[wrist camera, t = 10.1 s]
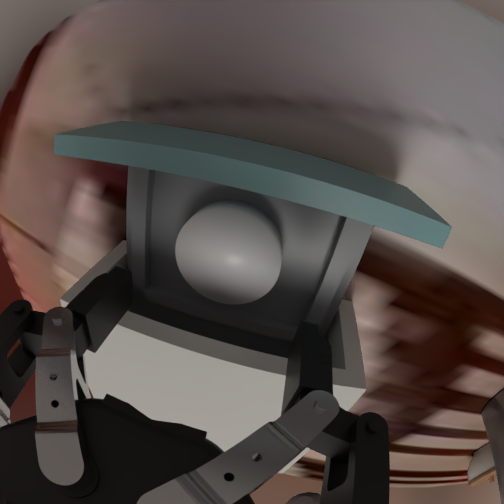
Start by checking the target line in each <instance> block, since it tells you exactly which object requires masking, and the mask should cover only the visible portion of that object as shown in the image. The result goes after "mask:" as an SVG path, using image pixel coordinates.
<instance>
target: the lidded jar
mask: <svg viewBox="0 0 504 504" xmlns="http://www.w3.org/2000/svg"><path fill="white" fill-rule="evenodd" d="M473 455H474V456H473V457H472V459H471V461H470V463H469V467H468V481H469V483H468V485H469V487H472V486H476V485H479V484H481V483H483V482H486V481H488V480H490V483H492V482H494V477H495V476H497V474H496V469H495V464H494V459H493V455H492V451H491V447H490V443H489V444H487V445H485V446H483V447H482V448H480V449H479V450H477V451H476V452H475V453H474V454H473Z"/></svg>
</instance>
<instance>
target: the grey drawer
mask: <svg viewBox="0 0 504 504" xmlns="http://www.w3.org/2000/svg"><path fill="white" fill-rule="evenodd" d="M54 155H61V156H69V157H76V158H83V159H90V160H97V161H104V162H110V163H116V164H122V165H128V166H129V167H128V183H127V212H126V246H127V269H128V270H130V271H131V272H132V284H133V301H132V304H131V306H130V312H132V313H135V314H137V315H140V316H143V317H146V318H148V319H151V320H154V321H157V322H160V323H163V324H166V325H169V326H172V327H175V328H178V329H181V330H184V331H187V332H191V333H194V334H197V335H200V336H204V337H207V338H210V339H214V340H217V341H221V342H224V343H228V344H232V345H235V346H239V347H243V348H247V349H250V350H254V351H258V352H262V353H266V354H271V355H275V356H279V357H284V358H288V354H289V350H290V346H291V343H292V341H293V339H294V336H295V334H296V332H297V329H298V327H299V325H300V322H301V321H302V320H304V321H308V322H312V323H317V324H318V325H319V336H322V337H324V336H325V334H326V332H327V330H328V328H329V326H330V324H331V322H332V320H333V318H334V316H335V314H336V312H337V310H338V308H339V306H340V303H341V301H342V299H343V297H344V295H345V293H346V291H347V289H348V286H349V284H350V282H351V280H352V277H353V275H354V273H355V271H356V268H357V266H358V264H359V262H360V259H361V257H362V254H363V252H364V250H365V247H366V245H367V242H368V240H369V237H370V235H371V232H372V230H373V227H374V226H377V227H380V228H383V229H386V230H389V231H392V232H395V233H398V234H401V235H404V236H407V237H410V238H413V239H416V240H419V241H422V242H425V243H427V244H430V245H433V246H436V247H439V248H441V249H442V248H443V246H444V244H445V242H446V240H447V238H448V235H449V233H450V231H451V229H452V227H451V226H450V225H449V224H448V223H447V222H446V221H445V220H444V219H443V218H442V217H441V216H440V215H438V214H437V213H436V212H435V211H434V210H433V209H432V208H431V207H430V206H428V205H427V204H426V203H425V202H424V201H423V200H421V199H420V198H419V197H418V196H417V195H416V194H414V193H413V192H412V191H411V190H409V189H408V188H407V187H405V186H403V185H400V184H398V183H395V182H392V181H389V180H387V179H384V178H381V177H378V176H376V175H373V174H370V173H367V172H364V171H361V170H358V169H355V168H352V167H349V166H346V165H342V164H339V163H336V162H333V161H329V160H326V159H323V158H319V157H316V156H312V155H308V154H305V153H301V152H297V151H293V150H290V149H286V148H282V147H278V146H273V145H269V144H265V143H261V142H256V141H252V140H247V139H242V138H237V137H232V136H227V135H222V134H216V133H211V132H205V131H199V130H193V129H186V128H180V127H172V126H165V125H157V124H148V123H139V122H128V121H118V122H112V123H106V124H100V125H95V126H90V127H85V128H80V129H75V130H71V131H66V132H62V133H58V134H55V138H54ZM227 199H229V200H239V201H243V202H246V203H249V204H251V205H254V206H256V207H257V208H259V209H260V210H262V211H263V212H264V213H266V214H267V215H268V216H269V217H270V218H271V220H272V221H273V222H274V224H275V225H276V227H277V229H278V230H279V233H280V236H281V239H282V245H283V254H282V262H281V269H280V273H279V276H278V279H277V281H276V283H275V285H274V286H273V287H272V289H271V290H270V291H269V292H268V293H267V294H265V295H264V296H263V297H261V298H259V299H257V300H255V301H252V302H250V303H245V304H238V305H236V304H224V303H219V302H216V301H213V300H211V299H208V298H206V297H205V296H203V295H201V294H200V293H198V292H197V291H196V290H194V289H193V288H192V287H191V286H190V285H189V284H188V282H187V281H186V280H185V279H184V277H183V276H182V274H181V272H180V270H179V267H178V265H177V261H176V255H175V246H176V240H177V237H178V234H179V232H180V230H181V229H182V227H183V226H184V225H185V224H186V222H187V221H188V220H189V219H190V218H191V217H192V216H193V215H194V214H195V213H196V212H197V211H198V210H199V209H201V208H202V207H203V206H205V205H207V204H209V203H212V202H214V201H219V200H227Z"/></svg>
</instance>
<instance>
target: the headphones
mask: <svg viewBox="0 0 504 504" xmlns="http://www.w3.org/2000/svg"><path fill="white" fill-rule="evenodd" d="M320 498H321V495H320V494H318V493H310V492H307V493H302V494H298V495H296V496H294V497H292V498H291V499H290V500H289V501H288V502H287V503H286V504H320Z"/></svg>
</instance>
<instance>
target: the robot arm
mask: <svg viewBox="0 0 504 504" xmlns="http://www.w3.org/2000/svg"><path fill="white" fill-rule="evenodd" d="M132 301H133V284H132V272H131V271H130V270H128V269H125V268H122V267H119V266H115V267H114V268H113V269H112V270H111V271H110V272H109V273H108V274H107V273H103V274H101V275H99V276H97V277H95V278H94V279H93V280H92V281H91V282H90V283H89V285H87V286H86V287H85V288H84V290H82V291H81V292H80V293H79V294H78V295H77V296H76V297H75V298H74V299H73V300H72V301H71V302H70V303H69V304H68V305H67V306H66V307H55V308H52V309H50V310H49V311H48V312H47V313H43V312H38V311H33V309H32V306H31V304H30V302H29V301H27V300H17V301H14V302H13V303H11V304H10V305H9V306H8V307H7V308H6V309H5V310H4V311H3V312H2V313H1V315H0V504H255V503H254V502H253V500H252V498H251V497H250V494H251V493H253V492H254V491H255V490H257V489H258V488H259V487H261V486H262V485H263V484H264V483H266V482H267V481H268V480H269V479H271V478H272V477H273V476H274V475H275V474H277V473H278V472H279V471H280V470H282V469H283V468H284V467H285V466H286V465H287V464H289V463H290V462H291V461H292V460H293V459H294V458H295V457H297V456H298V455H299V454H300V453H301V452H302V451H303V450H304V449H305V448H306V447H307V448H309V449H312V450H314V451H316V452H318V453H321V454H323V455H325V456H326V463H325V471H324V478H323V486H322V493H321V498H320V504H389V479H390V465H389V433H388V425H387V423H386V421H385V419H384V418H383V417H382V416H380V415H379V414H376V413H373V412H368V413H364V414H362V415H361V416H360V417H359V416H357V415H355V414H352V413H350V412H348V411H346V410H344V409H343V408H341V407H340V406H339V403H338V401H337V399H336V398H335V397H334V396H333V372H332V358H331V357H332V348H331V345H330V343H329V341H328V339H327V338H326V337H322V336H319V325H318V324H317V323H312V322H308V321H304V320H302V321H301V322H300V325H299V327H298V329H297V332H296V334H295V336H294V339H293V341H292V343H291V346H290V350H289V354H288V361H287V370H286V379H285V387H284V395H283V403H282V410H281V417H279V418H278V419H277V420H275V421H274V422H272V421H270V422H268V423H266V424H265V425H263V426H262V427H260V428H259V429H258V430H256V431H255V432H253V433H252V434H251V435H249V436H248V437H246V438H245V439H243V440H242V441H241V442H239V443H238V444H236V445H235V446H233V447H232V448H230V449H228V450H227V451H225V452H224V451H223V450H222V449H221V448H220V447H219V446H217V445H216V444H215V443H213V442H212V441H210V440H209V439H207V438H206V436H207V432H206V431H203V430H200V429H196V428H193V427H190V426H187V425H184V424H181V423H172V422H165V421H158V420H152V419H150V418H149V417H147V416H146V415H144V414H143V413H141V412H140V411H139V410H137V409H136V408H135V407H133V406H132V405H130V404H129V403H127V402H124V401H122V400H120V399H118V398H116V397H114V396H111V395H109V394H106V396H105V397H104V399H99V398H91V396H90V393H89V388H88V381H87V373H86V365H85V356H84V353H85V352H86V350H89V351H91V352H93V353H96V352H97V350H98V349H99V348H100V346H101V345H102V343H103V342H104V341H105V339H106V338H107V337H108V335H109V334H110V333H111V331H112V330H113V329H114V328H115V326H116V325H117V324H118V322H119V321H120V320H121V318H122V317H123V316H124V315H125V313H126V312H127V311H128V309H129V308H130V306H131V304H132ZM17 340H18V341H19V343H20V344H19V345H18V346H17V348H16V349H15V350H14V352H13V353H12V354H11V355H10V357H9V358H8V359H7V354H8V352H9V350H10V349H11V348H12V346H13V345H14V344H15V343H16V342H17ZM35 369H36V411H37V415H36V416H33V417H29V418H26V419H23V420H20V421H17V422H14V423H10V419H9V417H10V411H9V409H10V407H11V406H12V404H13V402H14V401H15V399H16V398H17V396H18V395H19V393H20V392H21V390H22V388H23V387H24V386H25V384H26V382H27V381H28V380H29V378H30V377H31V375H32V374H33V372H34V371H35ZM482 418H483V421H484V425H485V428H486V432H487V436H488V439H489V443H490V447H491V451H492V455H493V459H494V464H495V469H496V474H497V479H498V484H499V491H500V497H501V504H504V390H502V391H501V392H500V393H499V394H497V395H496V396H495V397H494V398H493V399H492V400H491V401H490V402H489V403H488V404H487V405H486V406H485V407H484V409H483V411H482Z"/></svg>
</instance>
